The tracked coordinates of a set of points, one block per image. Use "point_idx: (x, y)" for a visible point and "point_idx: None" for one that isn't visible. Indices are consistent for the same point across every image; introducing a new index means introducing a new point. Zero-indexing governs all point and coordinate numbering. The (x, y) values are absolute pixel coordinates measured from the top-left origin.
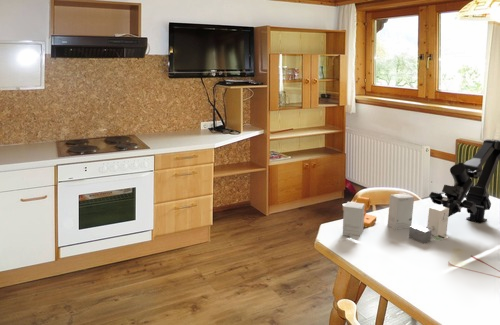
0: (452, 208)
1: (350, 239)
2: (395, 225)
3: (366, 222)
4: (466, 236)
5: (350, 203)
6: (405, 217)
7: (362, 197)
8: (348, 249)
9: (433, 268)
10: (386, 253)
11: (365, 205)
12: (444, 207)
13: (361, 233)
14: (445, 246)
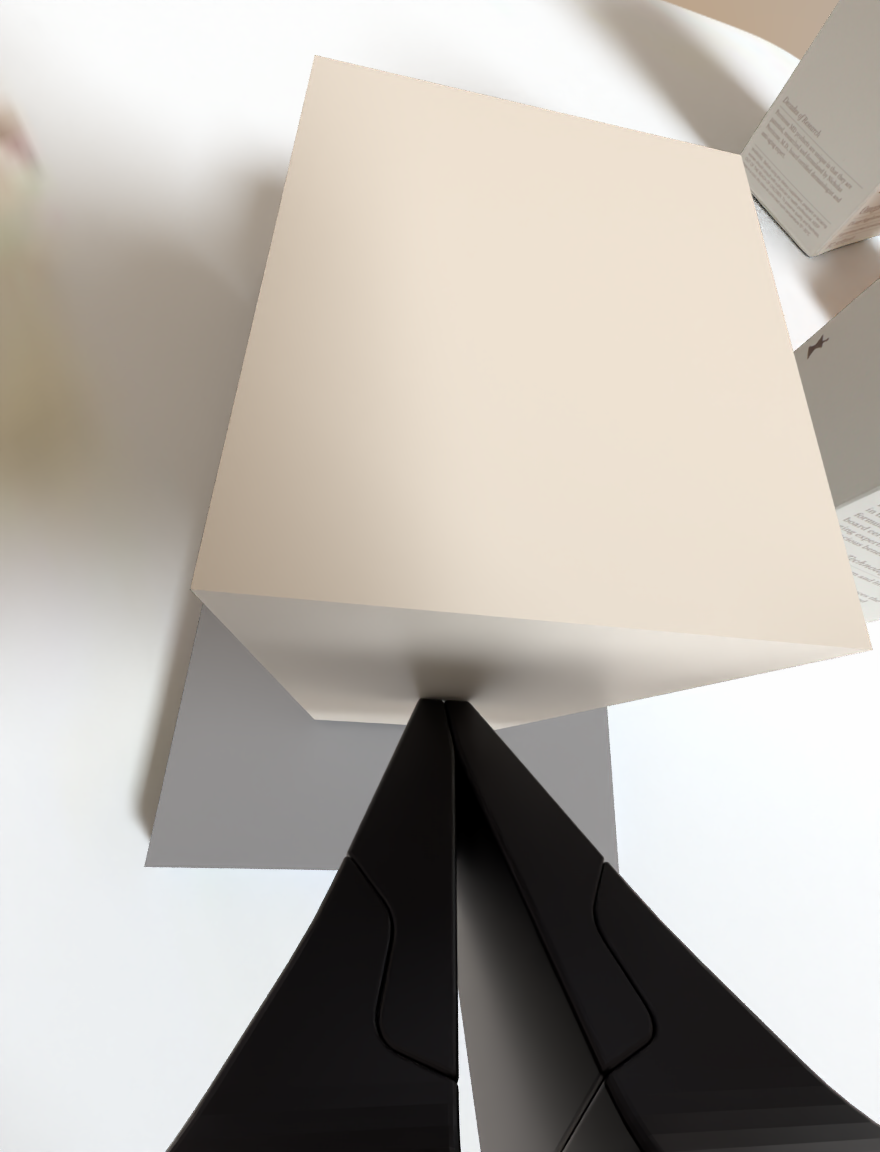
0: (182, 1142)
1: (737, 131)
2: None
3: None
4: (70, 1038)
5: None
6: (841, 411)
7: None
8: (625, 31)
9: (94, 34)
10: (458, 76)
11: None
12: (444, 516)
13: (771, 178)
14: (186, 430)
